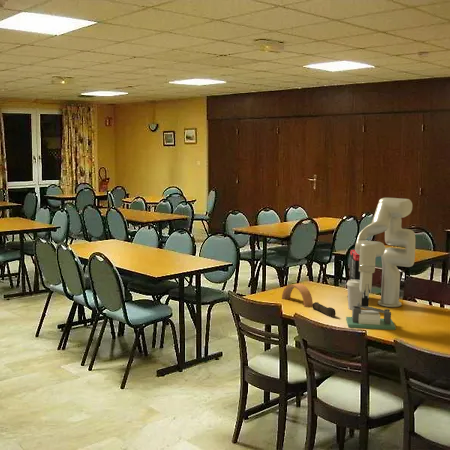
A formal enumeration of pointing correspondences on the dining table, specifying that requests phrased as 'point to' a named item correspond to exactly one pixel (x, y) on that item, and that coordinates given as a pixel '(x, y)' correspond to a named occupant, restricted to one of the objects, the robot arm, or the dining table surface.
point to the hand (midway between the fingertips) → (364, 305)
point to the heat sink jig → (369, 319)
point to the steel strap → (371, 308)
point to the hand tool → (324, 309)
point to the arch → (302, 289)
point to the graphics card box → (354, 265)
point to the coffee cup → (353, 293)
